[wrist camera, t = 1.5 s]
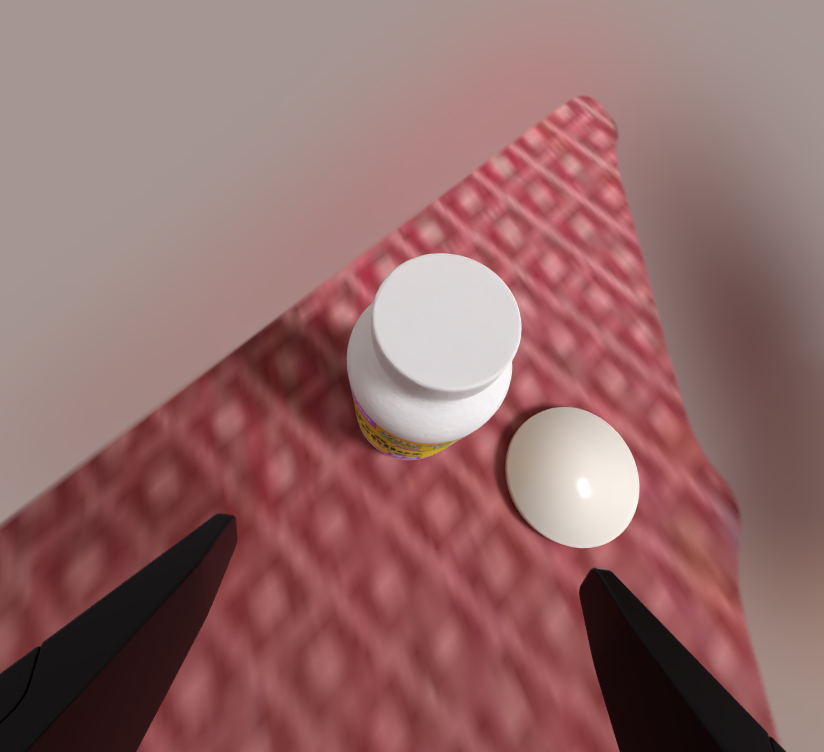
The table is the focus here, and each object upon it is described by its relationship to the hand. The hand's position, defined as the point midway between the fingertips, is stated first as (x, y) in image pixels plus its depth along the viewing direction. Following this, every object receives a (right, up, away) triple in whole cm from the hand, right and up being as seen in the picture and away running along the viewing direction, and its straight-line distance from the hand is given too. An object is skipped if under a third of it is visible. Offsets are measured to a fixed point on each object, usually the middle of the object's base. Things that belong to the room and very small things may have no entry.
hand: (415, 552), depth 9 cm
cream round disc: (+10, -2, +14) cm, 17 cm away
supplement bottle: (0, +2, +14) cm, 14 cm away
